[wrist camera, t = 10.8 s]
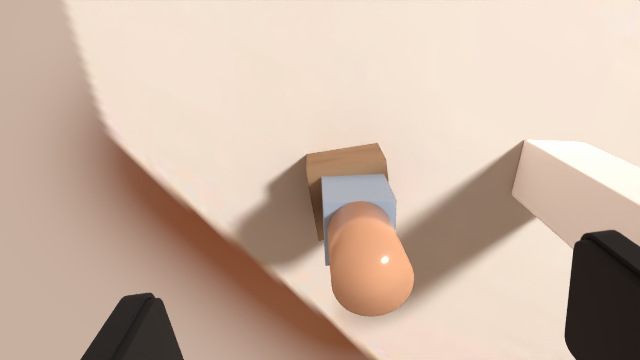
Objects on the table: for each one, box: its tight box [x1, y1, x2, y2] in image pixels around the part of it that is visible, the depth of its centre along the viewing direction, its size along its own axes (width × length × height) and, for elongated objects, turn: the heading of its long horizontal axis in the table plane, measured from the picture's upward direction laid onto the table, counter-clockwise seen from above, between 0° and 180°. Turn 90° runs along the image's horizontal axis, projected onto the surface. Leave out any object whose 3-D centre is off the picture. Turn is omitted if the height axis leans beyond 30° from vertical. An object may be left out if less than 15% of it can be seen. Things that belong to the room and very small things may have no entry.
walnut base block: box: [306, 143, 388, 241], centre depth 39 cm, size 7×7×5 cm
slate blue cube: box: [321, 174, 396, 266], centre depth 34 cm, size 6×6×6 cm
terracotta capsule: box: [327, 201, 414, 316], centre depth 28 cm, size 5×5×7 cm
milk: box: [512, 140, 640, 249], centre depth 31 cm, size 6×6×22 cm
